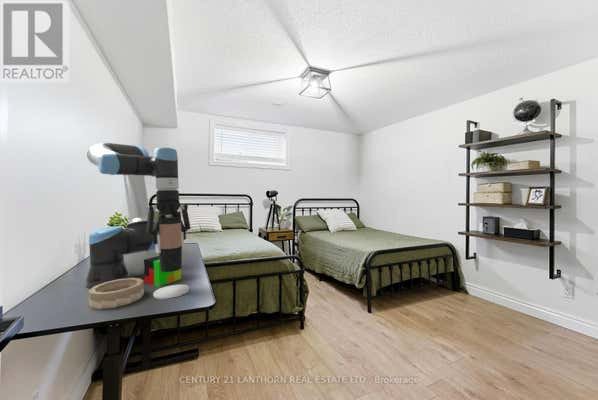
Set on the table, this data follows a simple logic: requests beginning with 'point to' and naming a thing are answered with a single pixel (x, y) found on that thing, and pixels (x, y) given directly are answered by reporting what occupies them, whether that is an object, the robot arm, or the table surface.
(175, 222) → the travel mug
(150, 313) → the table surface
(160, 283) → the puzzle toy
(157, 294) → the white round disc
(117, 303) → the holder ring
